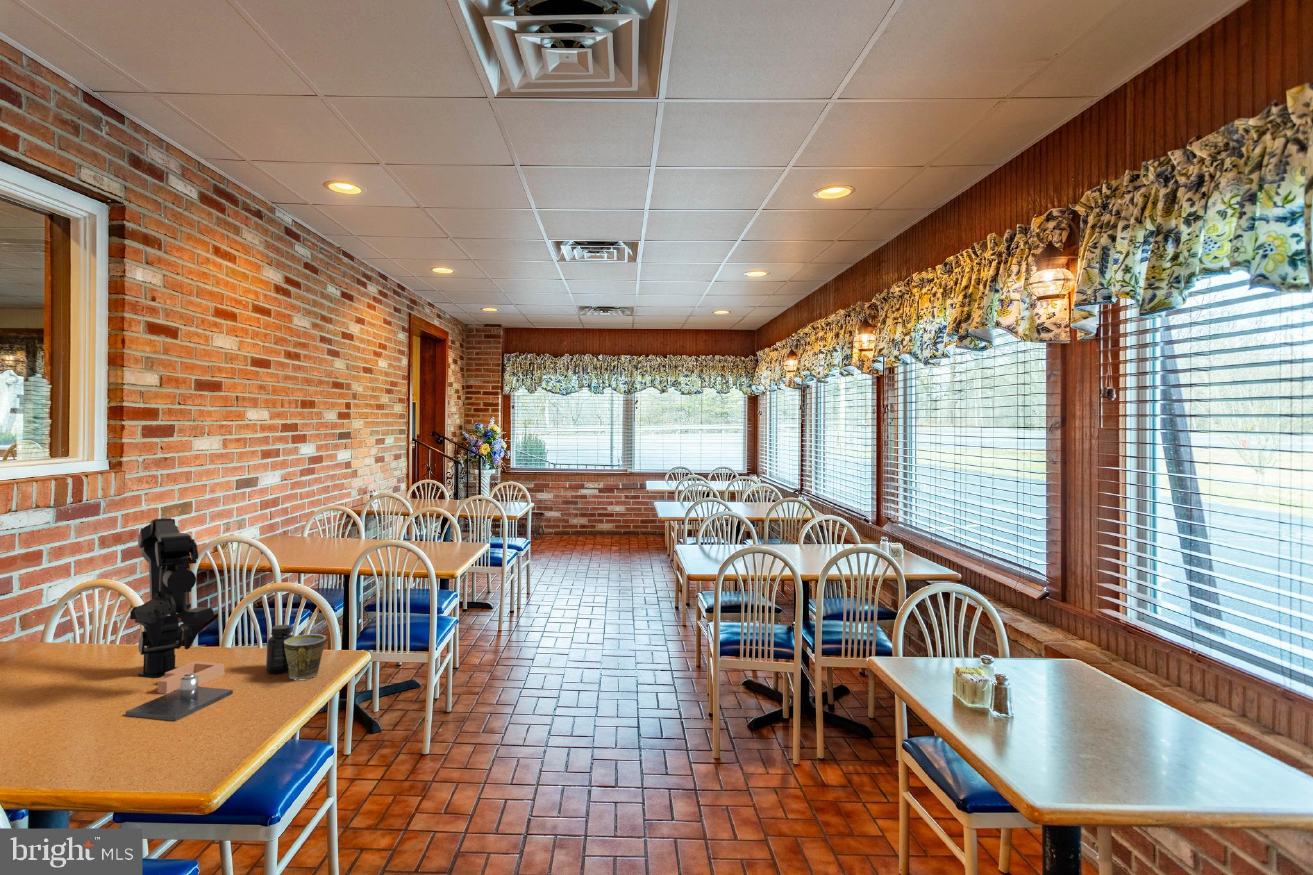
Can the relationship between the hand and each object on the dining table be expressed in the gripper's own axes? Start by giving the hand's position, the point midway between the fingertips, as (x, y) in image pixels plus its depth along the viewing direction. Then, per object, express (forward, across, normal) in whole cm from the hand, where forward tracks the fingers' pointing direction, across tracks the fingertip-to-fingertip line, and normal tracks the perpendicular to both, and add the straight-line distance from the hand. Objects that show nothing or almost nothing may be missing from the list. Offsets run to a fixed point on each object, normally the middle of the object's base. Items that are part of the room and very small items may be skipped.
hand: (171, 647), depth 160 cm
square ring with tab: (+11, 0, +5) cm, 12 cm away
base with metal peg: (+11, +10, -7) cm, 16 cm away
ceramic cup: (+11, +26, +14) cm, 32 cm away
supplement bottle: (+11, +16, +18) cm, 27 cm away
